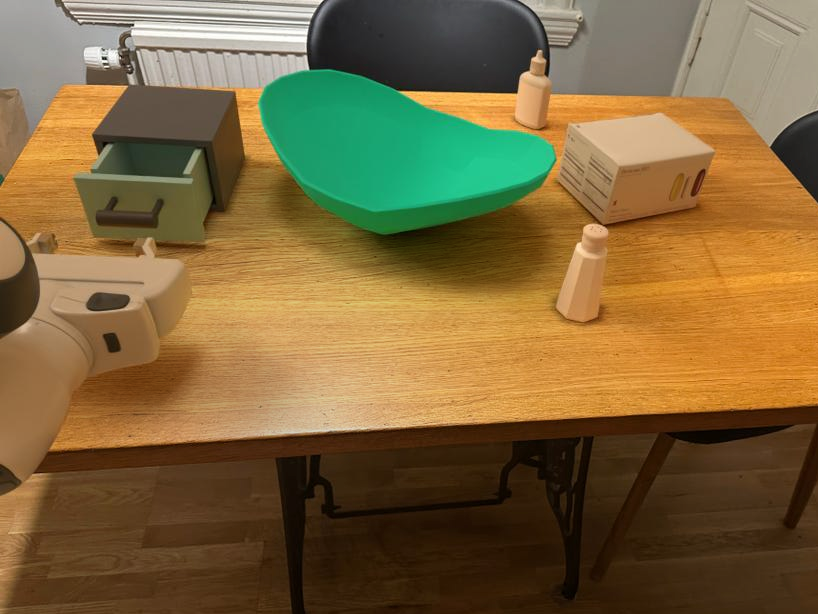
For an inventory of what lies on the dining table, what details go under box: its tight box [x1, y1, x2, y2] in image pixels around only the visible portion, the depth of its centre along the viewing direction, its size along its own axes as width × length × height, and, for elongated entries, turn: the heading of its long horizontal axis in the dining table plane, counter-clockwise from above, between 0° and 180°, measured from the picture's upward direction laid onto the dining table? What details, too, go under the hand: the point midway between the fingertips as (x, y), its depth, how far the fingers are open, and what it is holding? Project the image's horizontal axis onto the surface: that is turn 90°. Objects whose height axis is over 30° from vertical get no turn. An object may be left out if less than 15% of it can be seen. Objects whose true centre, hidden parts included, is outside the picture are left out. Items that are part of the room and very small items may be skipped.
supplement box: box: [556, 112, 716, 226], centre depth 101 cm, size 17×13×9 cm
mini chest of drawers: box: [91, 83, 246, 212], centre depth 92 cm, size 15×14×10 cm
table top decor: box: [257, 68, 558, 236], centre depth 90 cm, size 40×28×13 cm
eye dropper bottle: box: [514, 49, 552, 130], centre depth 115 cm, size 4×6×12 cm
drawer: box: [73, 142, 215, 243], centre depth 84 cm, size 18×13×8 cm
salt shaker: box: [555, 223, 610, 323], centre depth 79 cm, size 5×5×11 cm
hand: (98, 240), depth 69 cm, fingers open, 8 cm apart
